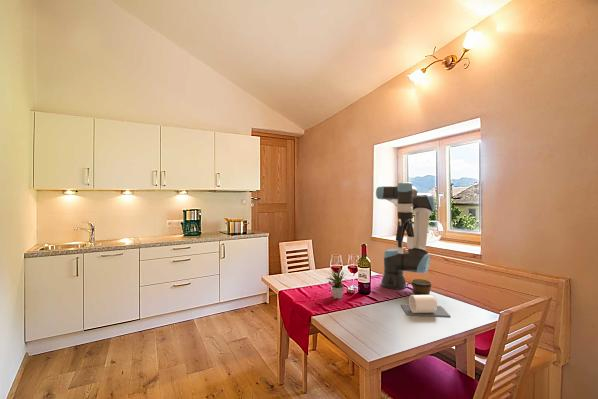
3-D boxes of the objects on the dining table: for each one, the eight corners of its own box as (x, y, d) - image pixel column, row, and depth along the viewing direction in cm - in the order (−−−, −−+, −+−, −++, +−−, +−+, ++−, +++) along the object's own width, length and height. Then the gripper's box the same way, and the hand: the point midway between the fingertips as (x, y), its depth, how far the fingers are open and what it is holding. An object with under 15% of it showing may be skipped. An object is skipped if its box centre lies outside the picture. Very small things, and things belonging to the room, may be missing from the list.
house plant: (327, 291, 171) (327, 264, 171) (350, 293, 167) (350, 265, 167) (322, 299, 157) (322, 270, 157) (347, 301, 154) (347, 272, 153)
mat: (440, 307, 146) (440, 305, 146) (450, 317, 134) (450, 315, 134) (400, 305, 149) (400, 304, 148) (406, 315, 137) (406, 313, 137)
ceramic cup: (426, 296, 161) (426, 279, 161) (434, 303, 151) (434, 284, 151) (403, 296, 162) (403, 279, 162) (410, 303, 152) (410, 284, 152)
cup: (438, 311, 133) (417, 311, 133) (427, 314, 144) (408, 314, 143) (434, 293, 137) (414, 293, 137) (424, 297, 148) (405, 297, 147)
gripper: (403, 213, 139) (403, 256, 140) (419, 209, 158) (420, 247, 159) (388, 213, 144) (389, 254, 145) (406, 209, 163) (406, 246, 164)
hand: (405, 251), depth 152 cm, fingers open, 13 cm apart
